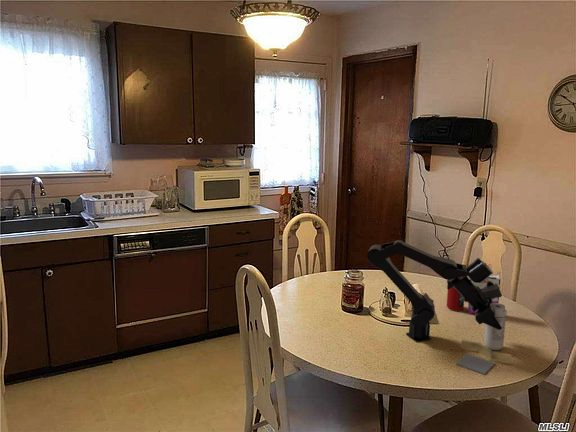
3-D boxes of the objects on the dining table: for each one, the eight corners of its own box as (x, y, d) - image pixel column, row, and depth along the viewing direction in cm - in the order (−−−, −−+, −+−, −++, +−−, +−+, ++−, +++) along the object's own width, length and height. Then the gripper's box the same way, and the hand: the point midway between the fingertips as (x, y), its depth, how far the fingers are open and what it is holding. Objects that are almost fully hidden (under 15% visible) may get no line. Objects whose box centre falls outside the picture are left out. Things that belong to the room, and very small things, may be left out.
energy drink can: (496, 342, 167) (500, 301, 164) (506, 350, 161) (510, 308, 158) (480, 343, 166) (484, 302, 163) (489, 351, 160) (493, 309, 157)
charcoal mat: (484, 374, 146) (484, 373, 146) (456, 364, 152) (456, 363, 152) (495, 364, 153) (495, 362, 152) (467, 354, 159) (467, 353, 158)
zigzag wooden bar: (458, 349, 162) (459, 341, 161) (463, 346, 165) (463, 337, 164) (508, 366, 151) (509, 357, 151) (512, 362, 154) (513, 353, 153)
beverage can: (464, 312, 194) (467, 284, 191) (447, 310, 195) (449, 282, 193) (462, 306, 200) (464, 278, 198) (445, 304, 201) (447, 277, 199)
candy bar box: (497, 313, 193) (500, 274, 189) (497, 318, 188) (501, 278, 185) (467, 309, 197) (470, 271, 193) (467, 313, 192) (470, 274, 189)
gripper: (490, 285, 151) (524, 323, 150) (485, 268, 169) (516, 301, 168) (462, 305, 155) (495, 342, 154) (460, 287, 173) (489, 319, 172)
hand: (499, 325), depth 162 cm, fingers closed on energy drink can, 6 cm apart
